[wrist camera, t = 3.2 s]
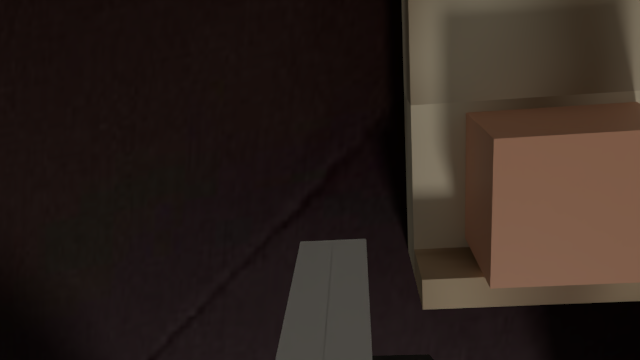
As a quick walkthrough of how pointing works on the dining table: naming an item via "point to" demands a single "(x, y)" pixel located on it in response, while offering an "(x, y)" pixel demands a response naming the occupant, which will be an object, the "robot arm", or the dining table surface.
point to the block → (554, 195)
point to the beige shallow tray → (494, 95)
